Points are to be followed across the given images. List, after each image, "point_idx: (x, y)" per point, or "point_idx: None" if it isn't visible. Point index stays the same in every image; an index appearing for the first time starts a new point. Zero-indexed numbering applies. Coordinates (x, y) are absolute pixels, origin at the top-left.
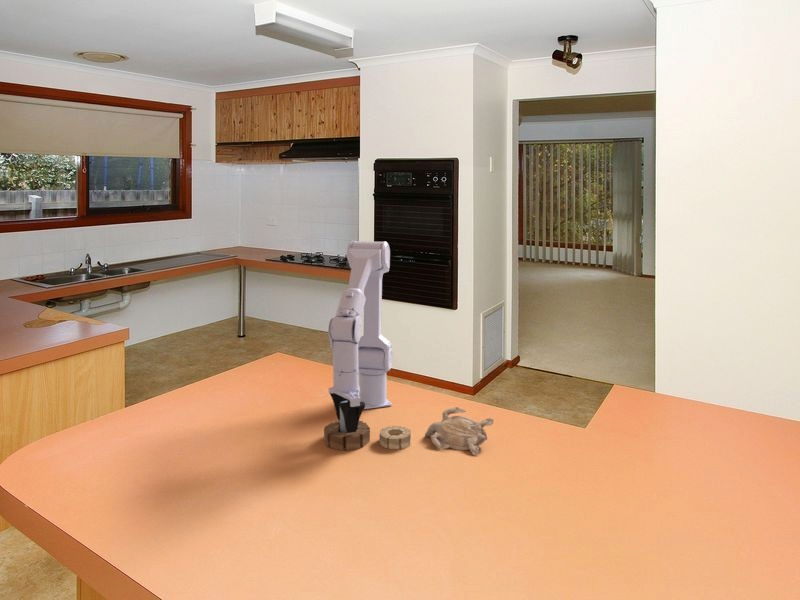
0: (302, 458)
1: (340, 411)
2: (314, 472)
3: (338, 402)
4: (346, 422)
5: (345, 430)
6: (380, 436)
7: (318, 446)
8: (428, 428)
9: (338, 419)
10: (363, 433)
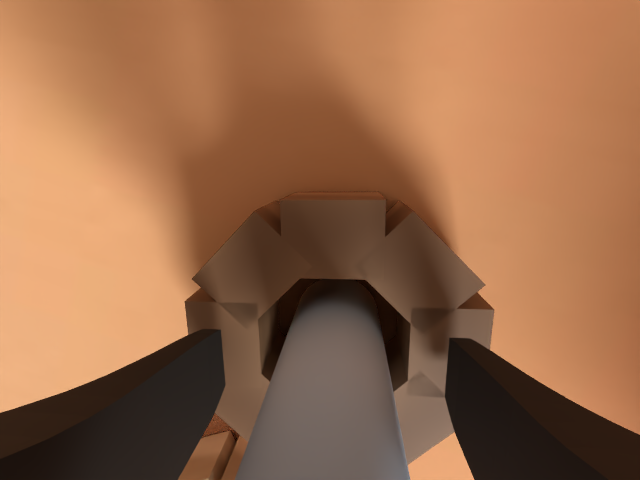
0: (191, 10)
1: (308, 402)
2: (19, 50)
3: (534, 472)
4: (127, 369)
5: (291, 330)
6: (210, 471)
7: (318, 141)
8: None
9: (451, 339)
10: (219, 411)
